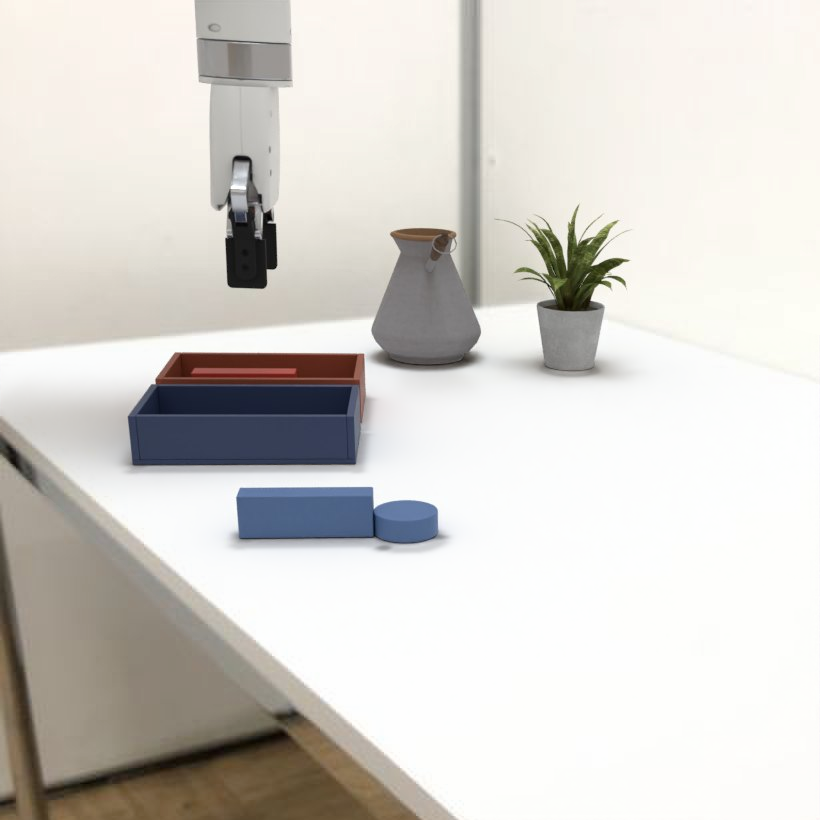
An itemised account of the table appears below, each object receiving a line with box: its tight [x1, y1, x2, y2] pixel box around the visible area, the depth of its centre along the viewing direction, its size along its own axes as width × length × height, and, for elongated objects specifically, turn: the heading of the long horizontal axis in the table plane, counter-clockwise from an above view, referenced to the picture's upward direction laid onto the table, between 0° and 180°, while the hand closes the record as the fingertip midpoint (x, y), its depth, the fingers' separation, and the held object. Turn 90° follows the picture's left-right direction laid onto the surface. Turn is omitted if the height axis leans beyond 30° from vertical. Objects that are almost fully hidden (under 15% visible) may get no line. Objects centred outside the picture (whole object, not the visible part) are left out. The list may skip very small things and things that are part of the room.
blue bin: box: [127, 383, 362, 466], centre depth 111 cm, size 17×10×4 cm, turn 97°
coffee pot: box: [370, 227, 482, 365], centre depth 136 cm, size 21×12×15 cm, turn 14°
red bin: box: [154, 351, 367, 424], centre depth 122 cm, size 17×10×4 cm, turn 97°
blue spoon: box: [235, 486, 439, 544], centre depth 93 cm, size 13×4×3 cm, turn 97°
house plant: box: [495, 203, 634, 371], centre depth 139 cm, size 14×14×16 cm
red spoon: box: [191, 368, 297, 378], centre depth 122 cm, size 13×4×3 cm, turn 97°
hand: (253, 277), depth 118 cm, fingers open, 9 cm apart
